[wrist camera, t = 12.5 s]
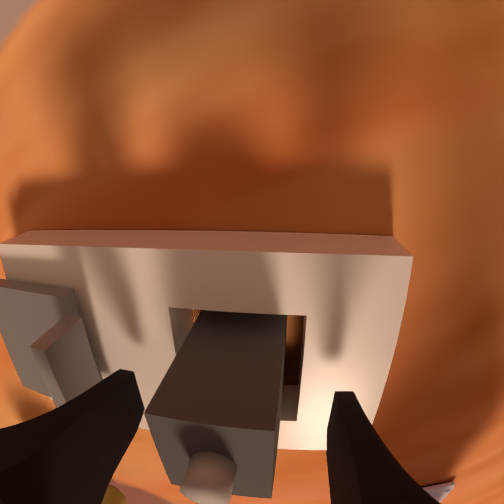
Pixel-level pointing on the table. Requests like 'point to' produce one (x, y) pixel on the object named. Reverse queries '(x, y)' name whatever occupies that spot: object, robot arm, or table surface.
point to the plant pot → (113, 496)
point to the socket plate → (232, 303)
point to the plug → (222, 407)
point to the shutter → (47, 339)
